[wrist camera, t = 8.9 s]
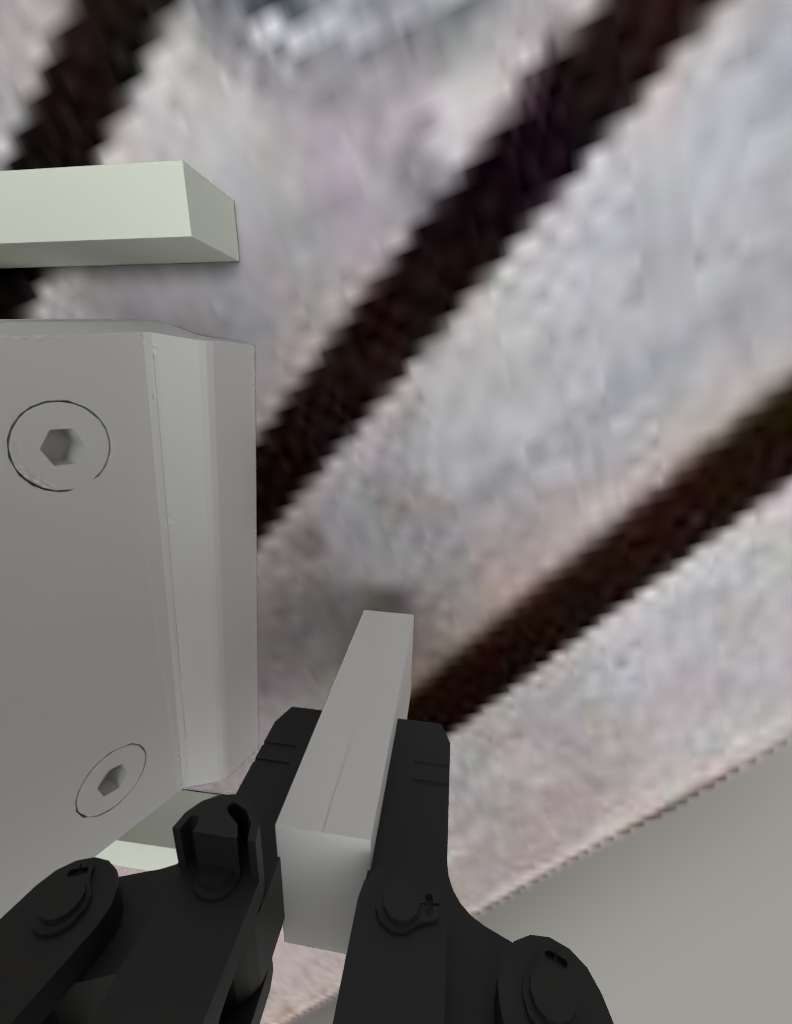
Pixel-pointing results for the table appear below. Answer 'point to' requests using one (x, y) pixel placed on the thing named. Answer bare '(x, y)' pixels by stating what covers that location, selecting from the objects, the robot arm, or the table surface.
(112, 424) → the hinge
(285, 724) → the robot arm
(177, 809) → the beige flat angled piece
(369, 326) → the table surface
